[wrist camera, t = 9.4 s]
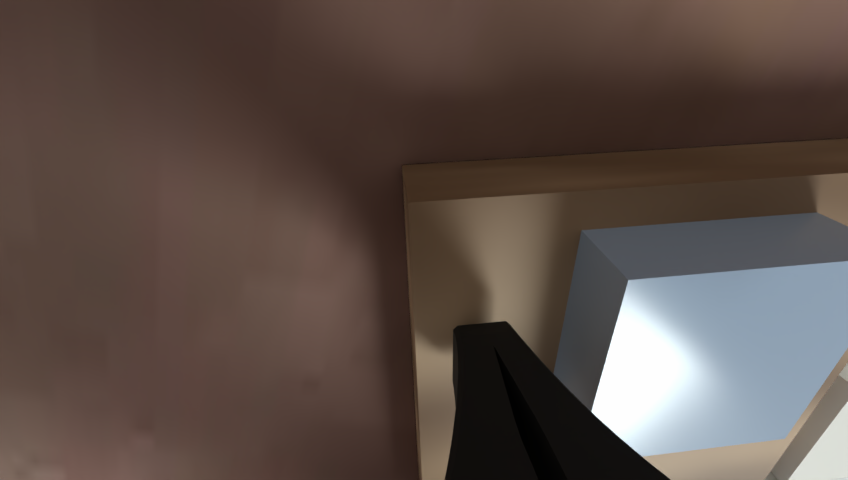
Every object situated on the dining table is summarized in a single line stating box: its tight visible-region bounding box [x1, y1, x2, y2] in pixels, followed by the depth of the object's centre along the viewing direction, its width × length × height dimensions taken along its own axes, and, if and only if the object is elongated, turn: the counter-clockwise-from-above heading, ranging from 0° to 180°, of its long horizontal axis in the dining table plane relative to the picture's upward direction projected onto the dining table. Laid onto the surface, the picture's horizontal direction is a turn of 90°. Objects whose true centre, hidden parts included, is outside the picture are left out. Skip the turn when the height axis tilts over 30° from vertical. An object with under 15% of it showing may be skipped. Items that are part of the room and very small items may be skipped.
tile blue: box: [553, 212, 848, 457], centre depth 10 cm, size 6×6×2 cm
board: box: [402, 138, 848, 480], centre depth 14 cm, size 15×14×2 cm
